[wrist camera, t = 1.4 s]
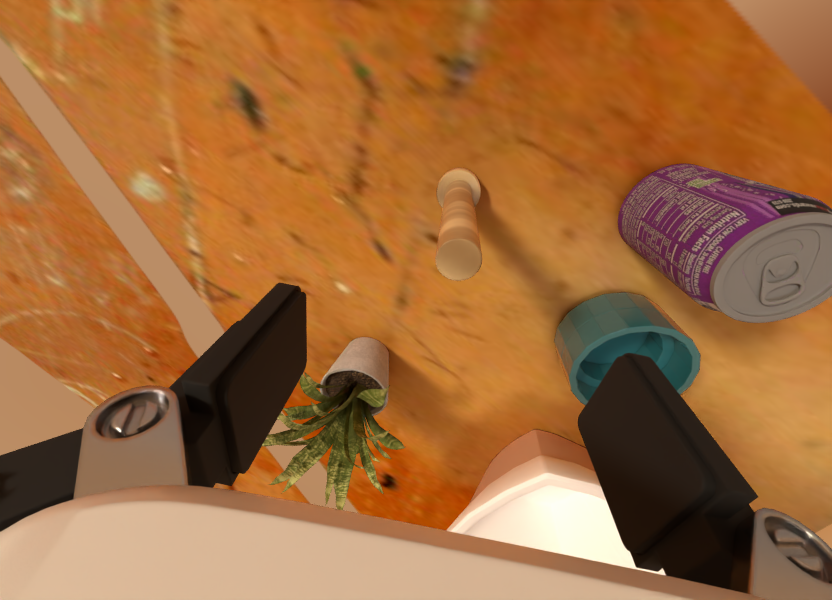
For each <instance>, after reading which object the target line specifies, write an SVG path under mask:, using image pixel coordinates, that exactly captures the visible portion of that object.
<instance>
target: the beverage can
mask: <svg viewBox="0 0 832 600" xmlns="http://www.w3.org/2000/svg"><path fill="white" fill-rule="evenodd" d="M618 228H619V232H620V235H621V237H622V238H623V240H624V241H625V242H626V243H627V244H628V245H629V246H630V247H631V248H633V249H634V250H635V251H636V252H637V253H639V254H640V255H641V256H642V257H643V258H644V259H646V260H647V261H648V262H649V263H650V264H652V265H653V266H654V267H655V268H656V269H657V270H659V271H660V272H661V273H662V274H663V275H665V276H666V277H667V278H668V279H669V280H671V281H672V282H673V283H674V284H675V285H676V286H678V287H679V288H680V289H681V290H682V291H684V292H685V293H686V294H687V295H688V296H689V297H691V298H692V299H693V300H694V301H696V302H697V303H699V304H700V305H702V306H704V307H706V308H708V309H711V310H715V311H719V312H723V313H724V314H726V315H727V316H729V317H731V318H733V319H735V320H739V321H743V322H750V323H764V322H773V321H778V320H782V319H786V318H789V317H792V316H795V315H798V314H800V313H803V312H805V311H807V310H809V309H811V308H813V307H815V306H817V305H818V304H820V303H822V302H823V301H825V300H826V299H828V298H829V297H830V296H832V209H831V208H830V207H829V206H827V205H826V204H825V203H823V202H822V201H820V200H817V199H815V198H813V197H810V196H806V195H803V194H799V193H795V192H792V191H788V190H784V189H781V188H777V187H774V186H770V185H766V184H763V183H759V182H755V181H752V180H748V179H744V178H741V177H737V176H734V175H730V174H726V173H723V172H719V171H715V170H712V169H708V168H705V167H701V166H697V165H693V164H676V165H671V166H667V167H664V168H661V169H659V170H657V171H655V172H653V173H651V174H649V175H648V176H646V177H645V178H644V179H642V180H641V181H640V182H639V183H638V184H637V185H635V186H634V188H633V189H632V190H631V191H630V192H629V194H628V195H627V196H626V198H625V200H624V202H623V204H622V206H621V208H620V212H619V216H618Z"/></svg>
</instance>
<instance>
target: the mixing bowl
mask: <svg viewBox="0 0 832 600" xmlns="http://www.w3.org/2000/svg"><path fill="white" fill-rule="evenodd" d="M554 343H555V347H556V352H557V355H558V358H559V360H560V363H561V366H562V368H563V371H564V373H565V376H566V379H567V381H568V384H569V386H570V389H571V391H572V392H573V394H574V395H575V396H576V397H577V399H578V400H579V401H580V402H581V403H583V404H585V405H586V404H587V403H588V401H589V400H590V398H591V397H592V395H593V393H594V392H595V390H596V389H597V387H598V386H599V384H600V383H601V381H602V380H603V378H604V376H605V375H606V373H607V372H608V370H609V369H610V367H611V366H612V364H613V363H614V361H615V360H616V358H617V357H619V356H623V355H624V354H625V353H633V354H638V355H643V356H648V357H650V358H651V359H652V360H653V361H654V362H655V363H656V365H657V366H658V367H659V369H660V370H661V371H662V372H663V374H664V375H665V376H666V378H667V379H668V380H669V382H670V383H671V384H672V385H673V387H674V388H675V389H676V391H677V392H678V393H679V394H682V393H683V392H684V391H685V390H686V389H687V388H689V387H690V386H691V384H692V383H693V381H694V379H695V377H696V376H697V374H698V372H699V370H700V353H699V351H698V349H697V347H696V345H695V344H694V342H693V340H692V339H691V338H690V337H689V336H688V335H687V334H686V333H685V332H684V331H683V330H682V329H681V328H680V327H679V326H678V325H677V324H676V323H675V322H674V321H673V320H672V319H671V318H670V317H669V316H668V315H667V314H666V313H665V312H664V311H663V310H662V309H661V308H660V307H659V306H658V305H657V304H656V303H654V302H653V301H651V300H649V299H648V298H646V297H645V296H642V295H637V294H632V293H627V292H621V293H611V294H604V295H600V296H597V297H595V298H592V299H589V300H587V301H584V302H582V303H581V304H580V305H578V306H577V307H575V308H574V309H573V310H571V311H570V312H569V313H568V314H567V315H566V316H565V318H564V319H563V320H562V322H561V323H560V324H559V326H558V328H557V332H556V335H555V339H554Z"/></svg>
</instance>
